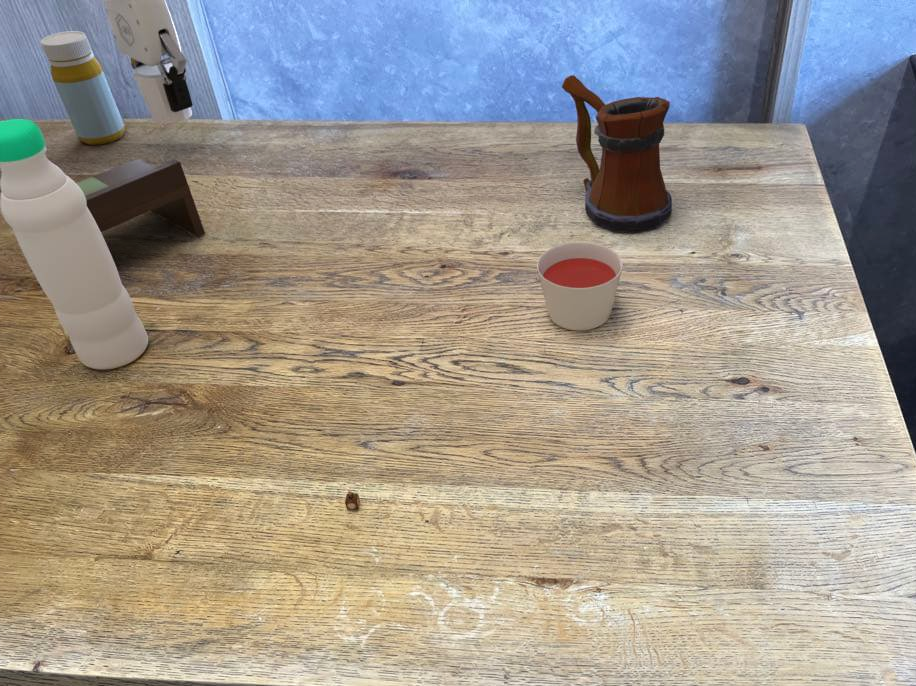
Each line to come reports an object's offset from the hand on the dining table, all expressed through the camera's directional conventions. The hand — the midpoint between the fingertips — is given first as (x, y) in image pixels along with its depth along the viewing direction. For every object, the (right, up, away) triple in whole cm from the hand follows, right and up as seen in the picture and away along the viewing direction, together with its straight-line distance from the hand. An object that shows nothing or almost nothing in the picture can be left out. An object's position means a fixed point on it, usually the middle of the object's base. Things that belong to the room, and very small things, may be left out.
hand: (168, 101), depth 120 cm
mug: (+64, -18, -12) cm, 68 cm away
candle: (+59, -35, -30) cm, 75 cm away
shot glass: (0, -2, +2) cm, 2 cm away
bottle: (-14, -2, +9) cm, 17 cm away
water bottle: (+9, -39, -32) cm, 51 cm away
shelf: (+2, -24, -16) cm, 29 cm away
